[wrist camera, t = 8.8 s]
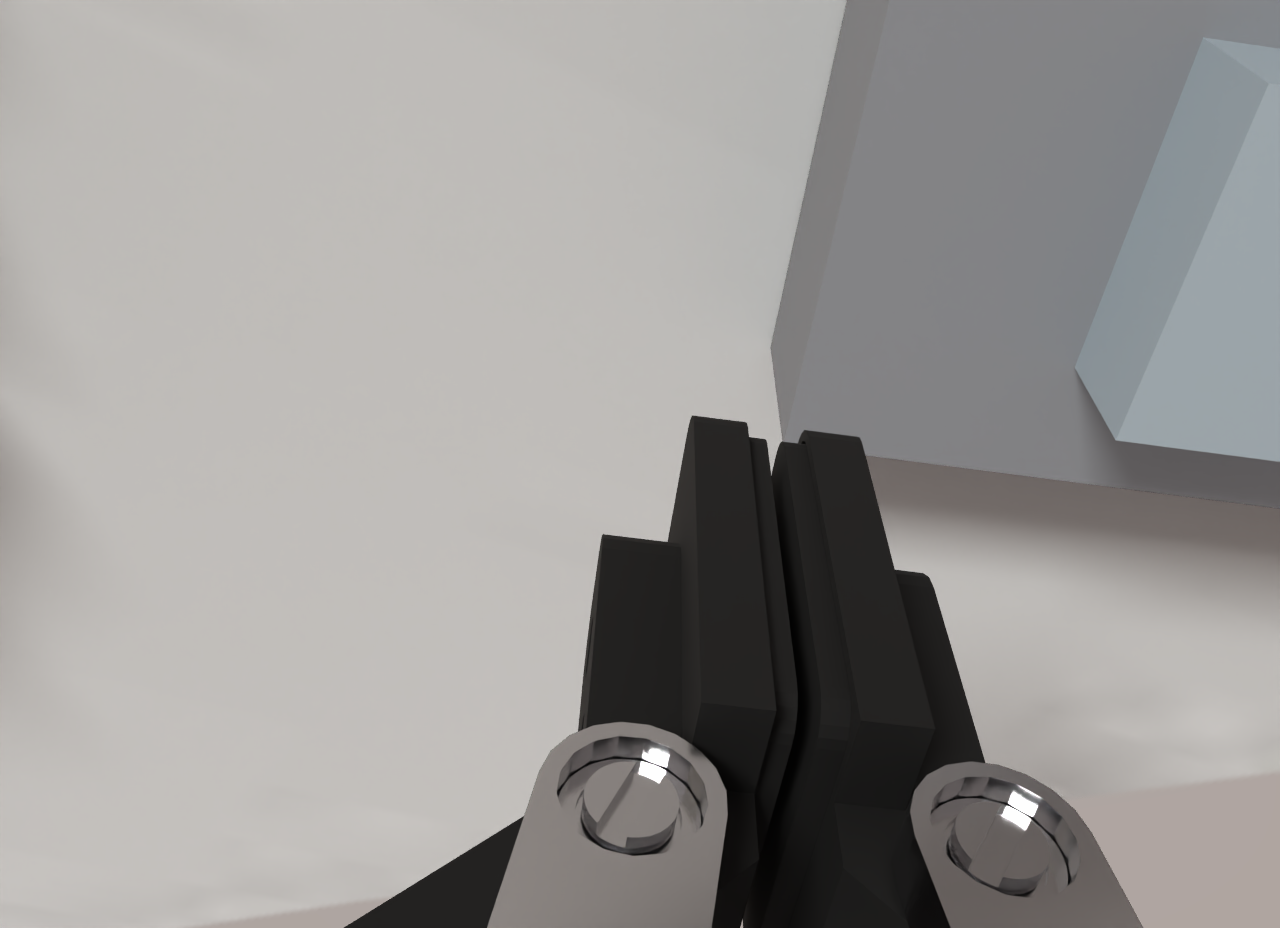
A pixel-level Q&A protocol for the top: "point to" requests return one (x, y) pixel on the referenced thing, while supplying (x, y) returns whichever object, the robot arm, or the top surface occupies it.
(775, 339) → the grey flat block
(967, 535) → the top surface
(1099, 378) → the blue-grey tile
